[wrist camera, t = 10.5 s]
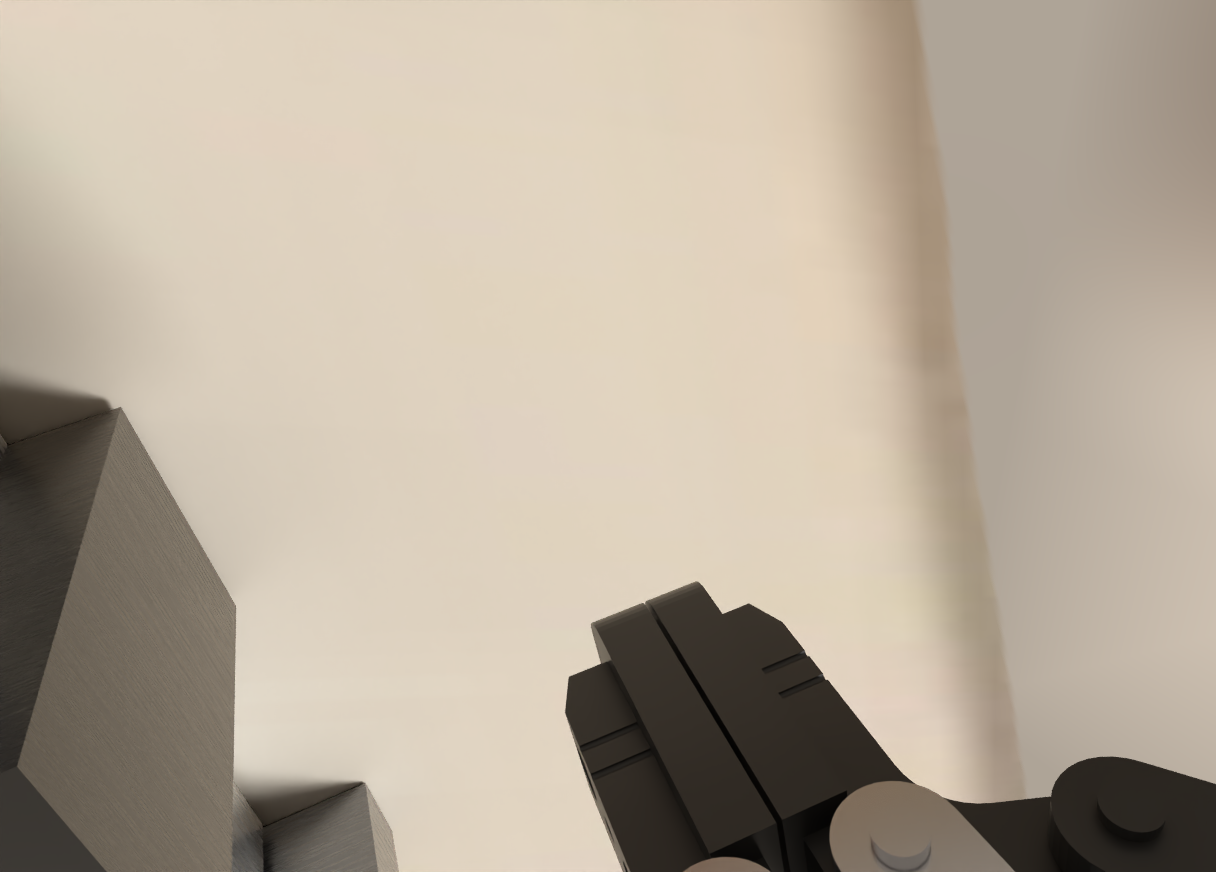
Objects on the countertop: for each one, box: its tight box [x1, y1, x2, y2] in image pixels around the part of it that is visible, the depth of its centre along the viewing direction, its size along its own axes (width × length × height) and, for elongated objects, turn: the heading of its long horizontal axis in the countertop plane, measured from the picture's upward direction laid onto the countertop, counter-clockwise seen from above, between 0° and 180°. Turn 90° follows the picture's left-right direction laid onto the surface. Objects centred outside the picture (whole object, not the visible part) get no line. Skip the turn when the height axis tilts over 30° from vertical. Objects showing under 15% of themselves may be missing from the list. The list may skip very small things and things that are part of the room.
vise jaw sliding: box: [0, 407, 264, 872], centre depth 14 cm, size 17×4×9 cm, turn 14°
